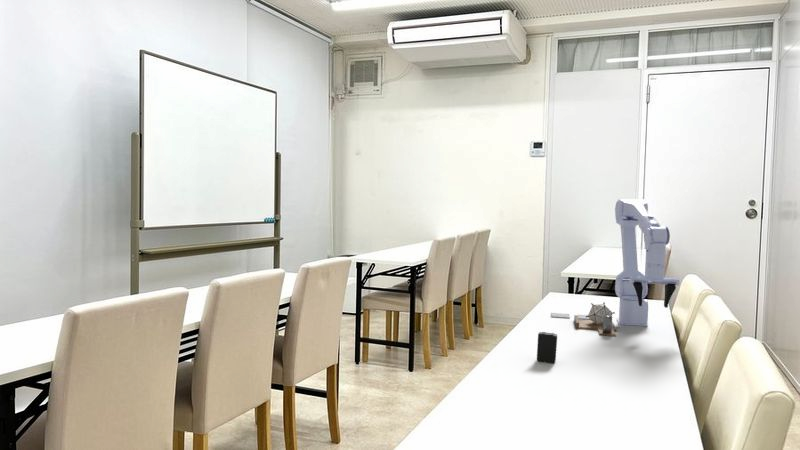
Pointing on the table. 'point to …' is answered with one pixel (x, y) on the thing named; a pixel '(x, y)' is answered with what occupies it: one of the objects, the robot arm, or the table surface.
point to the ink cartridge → (546, 347)
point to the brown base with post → (604, 329)
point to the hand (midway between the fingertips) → (652, 306)
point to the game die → (599, 313)
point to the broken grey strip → (560, 315)
